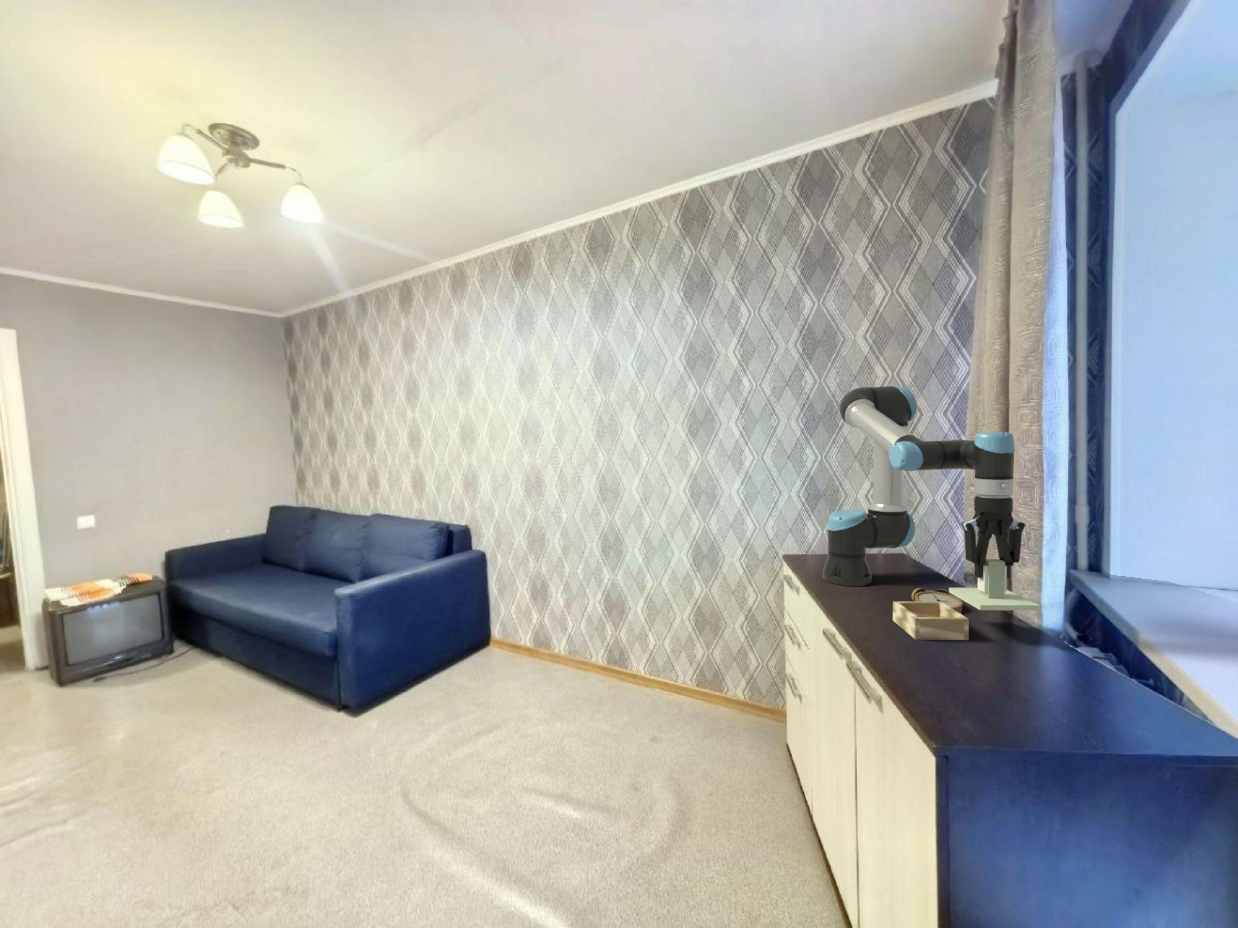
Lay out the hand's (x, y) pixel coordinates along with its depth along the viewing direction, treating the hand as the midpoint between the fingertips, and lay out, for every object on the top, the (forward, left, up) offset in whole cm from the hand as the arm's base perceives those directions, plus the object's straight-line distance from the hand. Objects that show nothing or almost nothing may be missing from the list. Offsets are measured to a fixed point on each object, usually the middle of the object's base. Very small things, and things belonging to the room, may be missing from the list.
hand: (991, 590), depth 123 cm
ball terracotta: (-3, -17, -10) cm, 20 cm away
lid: (0, 0, -3) cm, 3 cm away
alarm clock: (-18, -4, -11) cm, 22 cm away
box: (0, -15, -11) cm, 18 cm away
